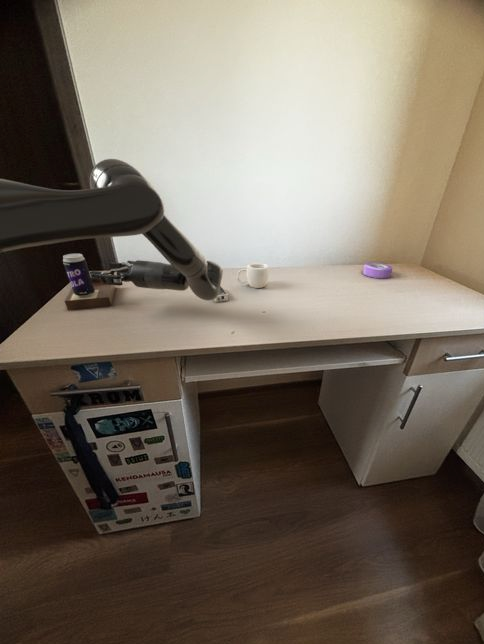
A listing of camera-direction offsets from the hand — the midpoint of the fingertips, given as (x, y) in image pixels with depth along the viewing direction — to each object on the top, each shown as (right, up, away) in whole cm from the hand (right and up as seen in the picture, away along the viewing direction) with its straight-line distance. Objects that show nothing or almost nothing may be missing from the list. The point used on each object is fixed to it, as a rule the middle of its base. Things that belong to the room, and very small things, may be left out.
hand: (101, 270), depth 82 cm
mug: (+43, +1, +26) cm, 51 cm away
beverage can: (-8, -6, +6) cm, 12 cm away
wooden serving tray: (-9, -6, +11) cm, 16 cm away
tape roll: (+98, +10, +43) cm, 108 cm away
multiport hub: (+31, -4, +17) cm, 36 cm away
